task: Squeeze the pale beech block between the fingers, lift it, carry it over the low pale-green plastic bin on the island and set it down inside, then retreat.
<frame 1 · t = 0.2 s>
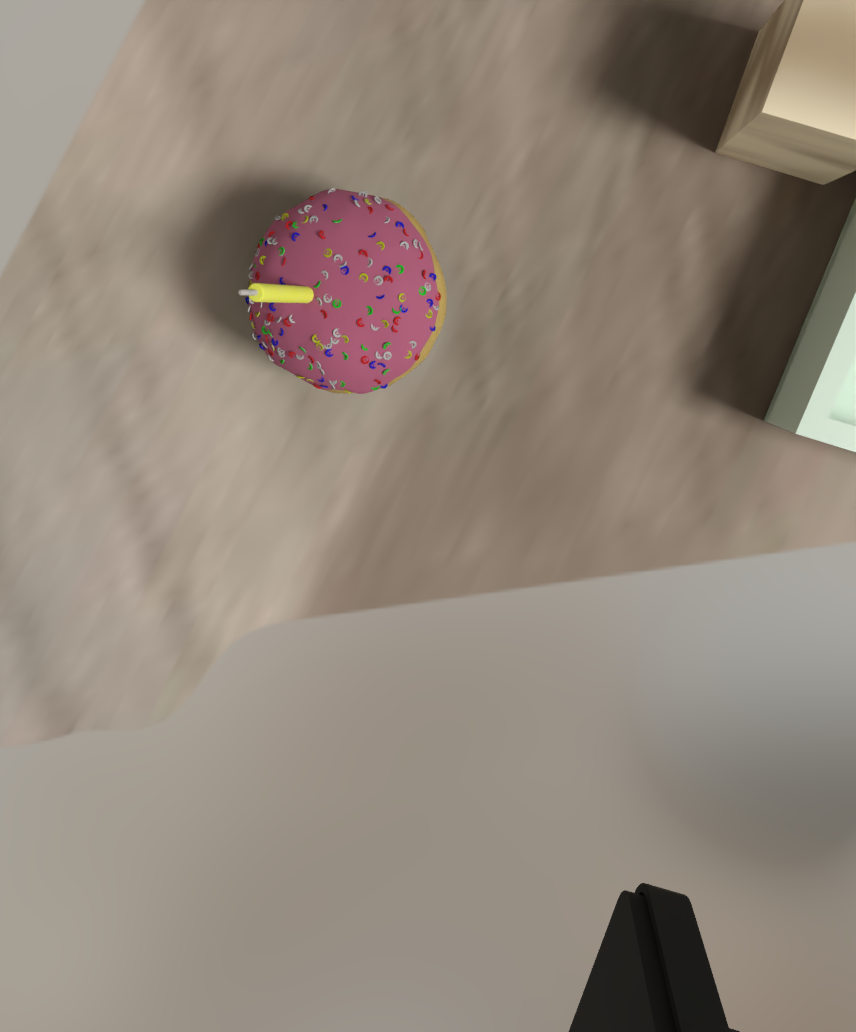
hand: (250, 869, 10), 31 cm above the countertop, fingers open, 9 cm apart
beech block: (791, 109, 34), on the countertop
cupcake: (366, 298, 38), on the countertop
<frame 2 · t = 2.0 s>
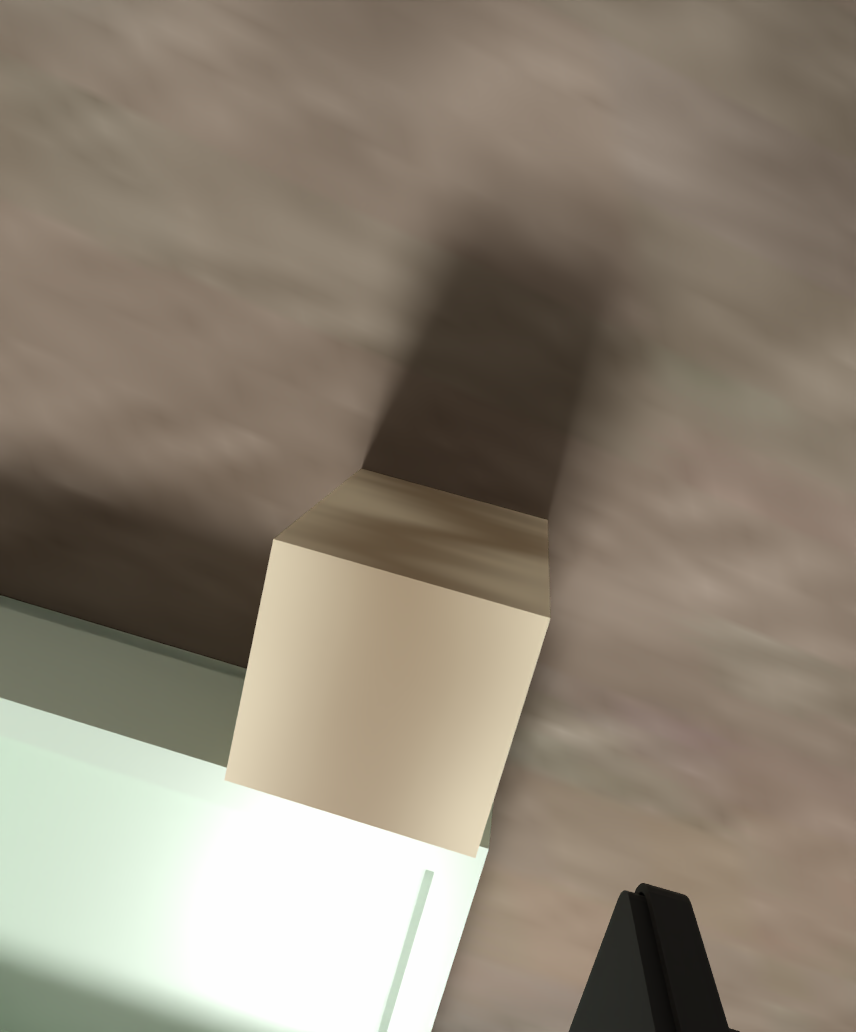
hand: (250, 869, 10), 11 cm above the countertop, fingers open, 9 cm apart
beech block: (430, 581, 21), on the countertop
bin: (182, 890, 24), on the countertop
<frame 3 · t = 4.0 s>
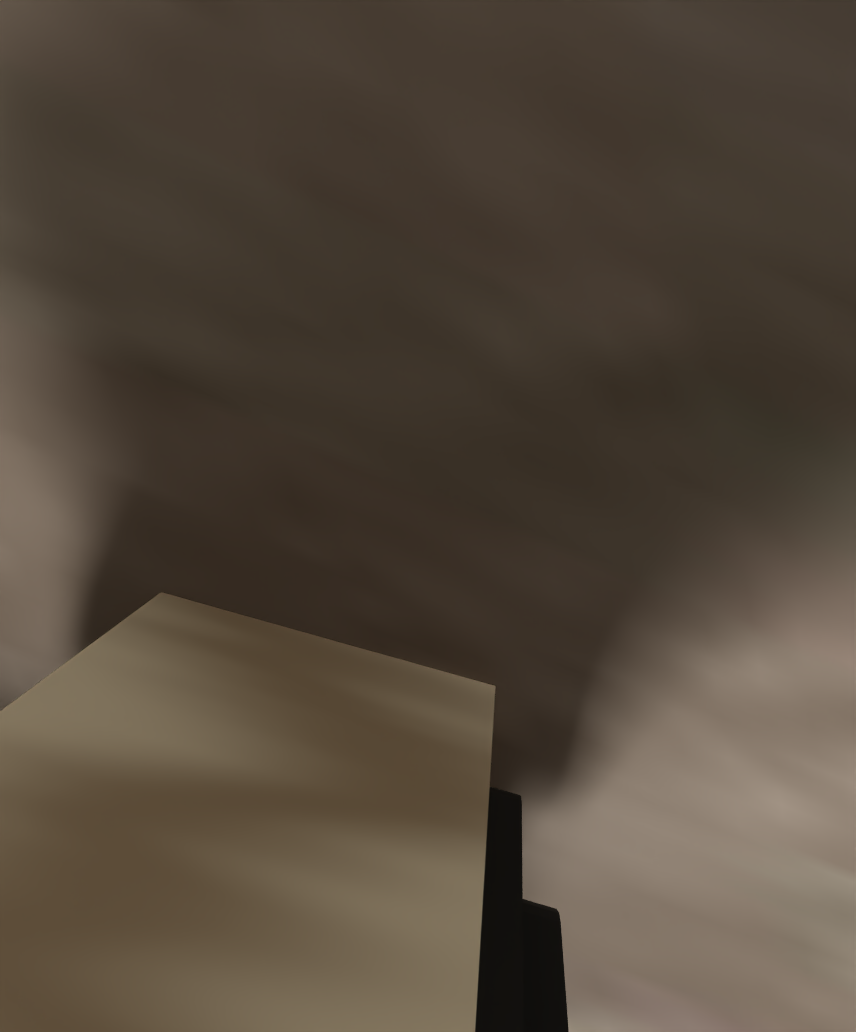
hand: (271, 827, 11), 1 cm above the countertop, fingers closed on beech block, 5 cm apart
beech block: (291, 787, 12), on the countertop, touching gripper
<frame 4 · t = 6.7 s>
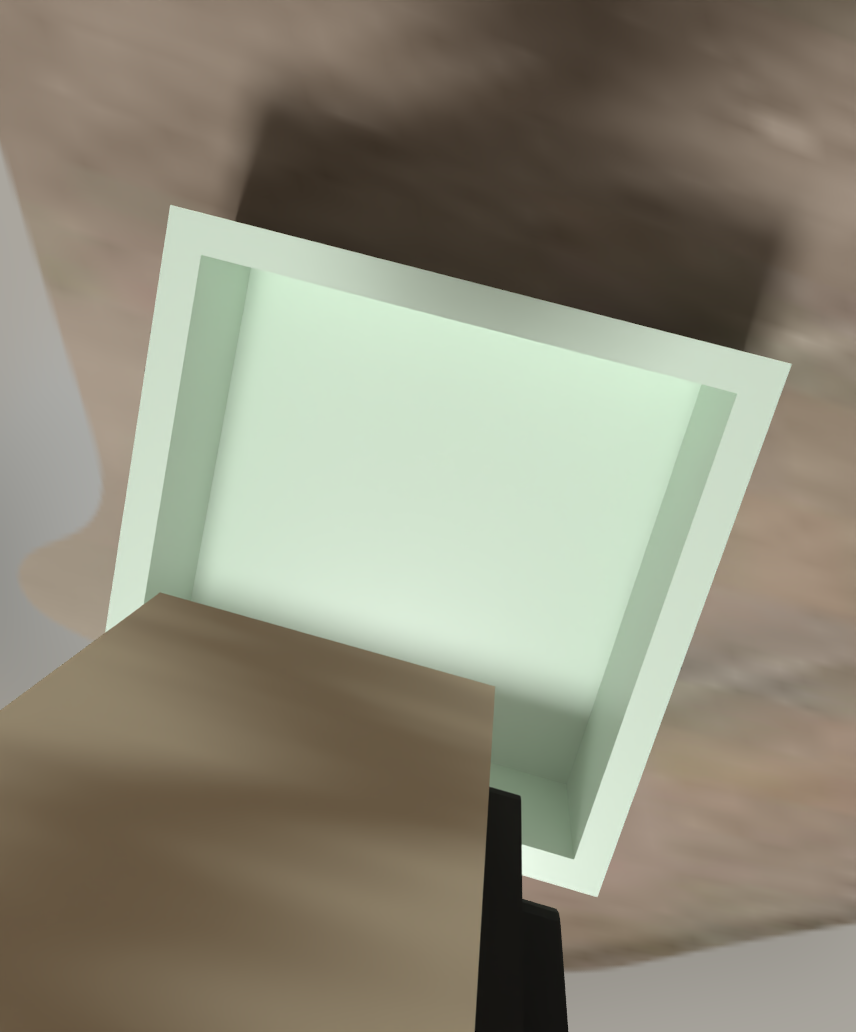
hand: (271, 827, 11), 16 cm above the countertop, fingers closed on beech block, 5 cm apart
beech block: (291, 787, 12), point 15 cm above the countertop, touching gripper
bin: (420, 535, 26), on the countertop
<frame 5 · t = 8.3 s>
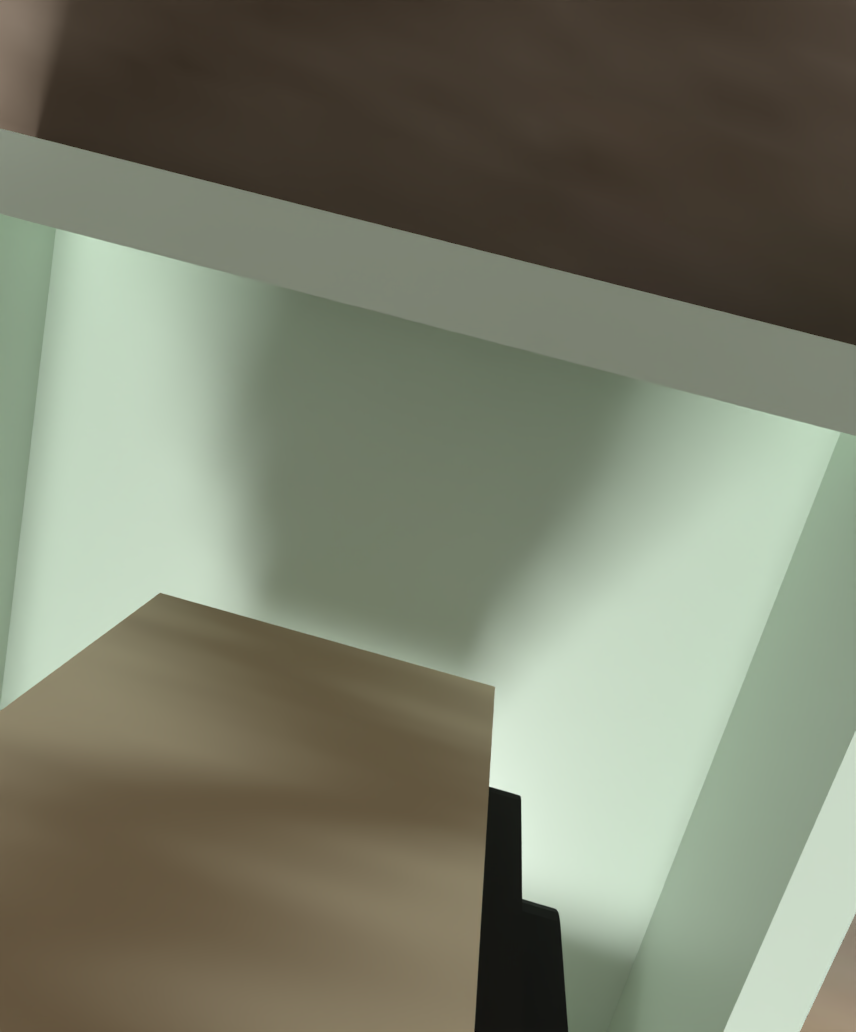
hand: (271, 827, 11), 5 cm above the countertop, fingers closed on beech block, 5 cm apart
beech block: (291, 787, 12), point 4 cm above the countertop, touching gripper
bin: (357, 667, 16), on the countertop
when the fingers open (4 cm above the countertop, at t = 9.4 s): beech block drops 2 cm, resting on bin.
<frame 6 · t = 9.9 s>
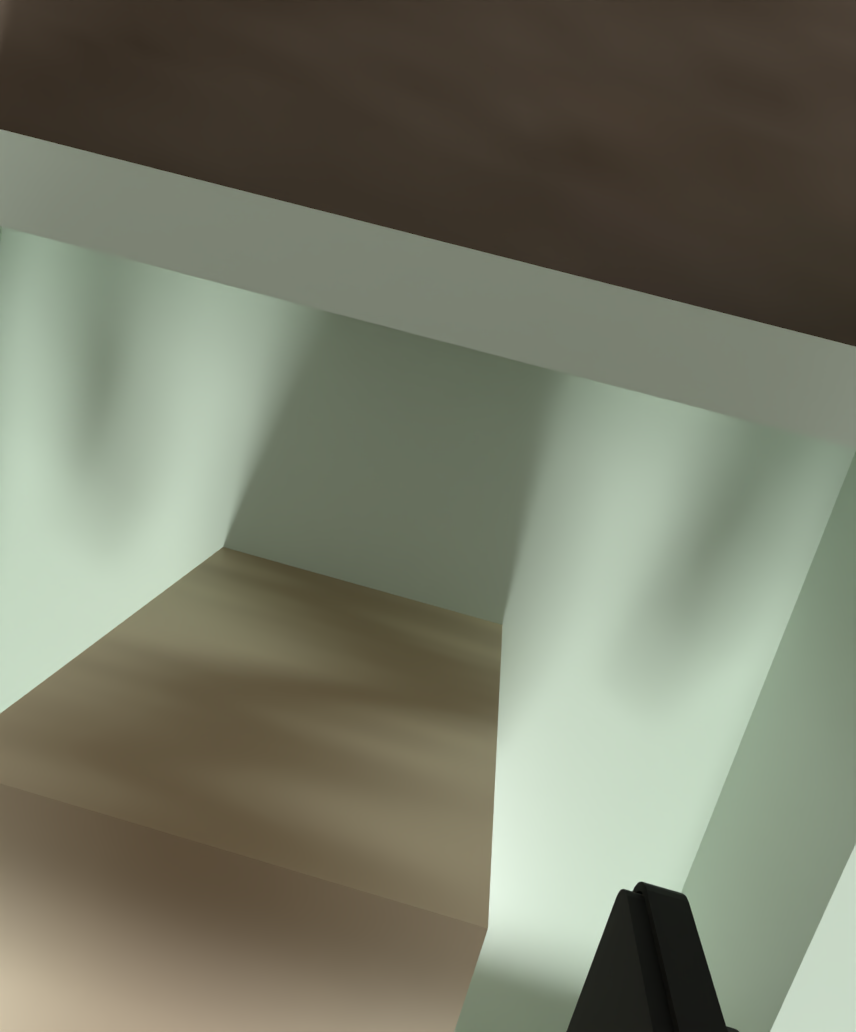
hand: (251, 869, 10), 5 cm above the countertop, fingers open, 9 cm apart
beech block: (330, 712, 14), point 1 cm above the countertop, touching bin
bin: (334, 698, 15), on the countertop
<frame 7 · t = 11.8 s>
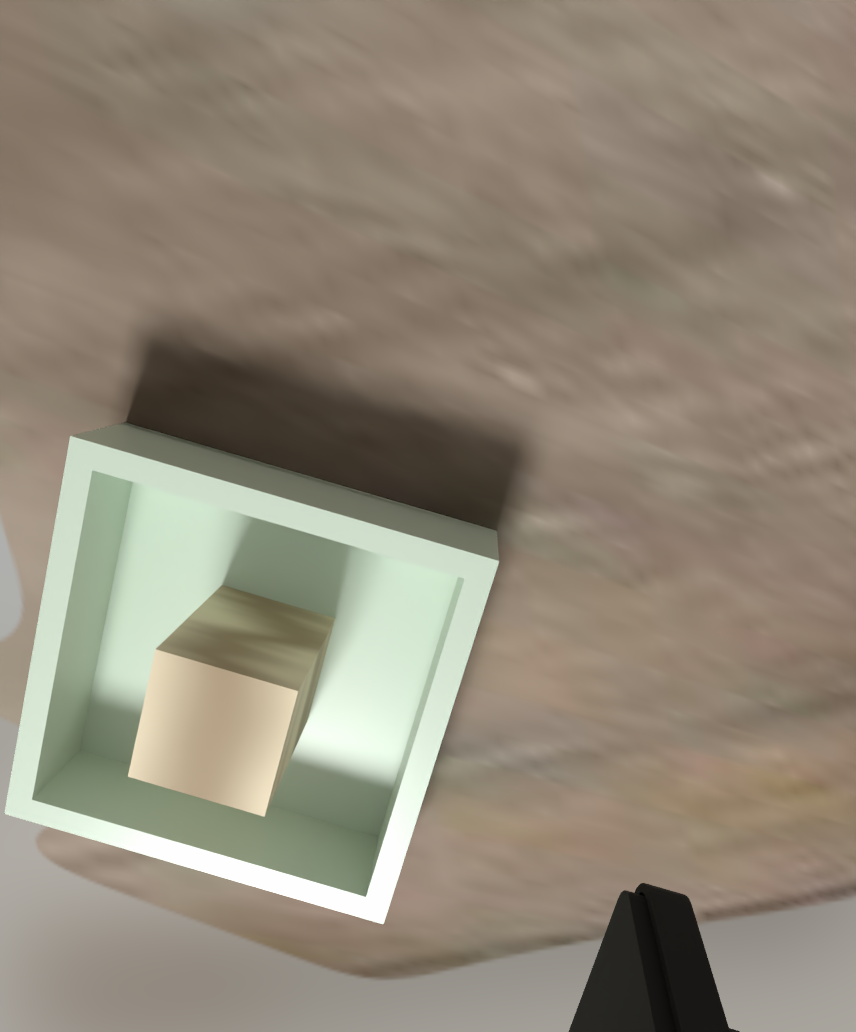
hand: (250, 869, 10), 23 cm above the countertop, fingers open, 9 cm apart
beech block: (265, 654, 34), point 1 cm above the countertop, touching bin
bin: (267, 649, 34), on the countertop
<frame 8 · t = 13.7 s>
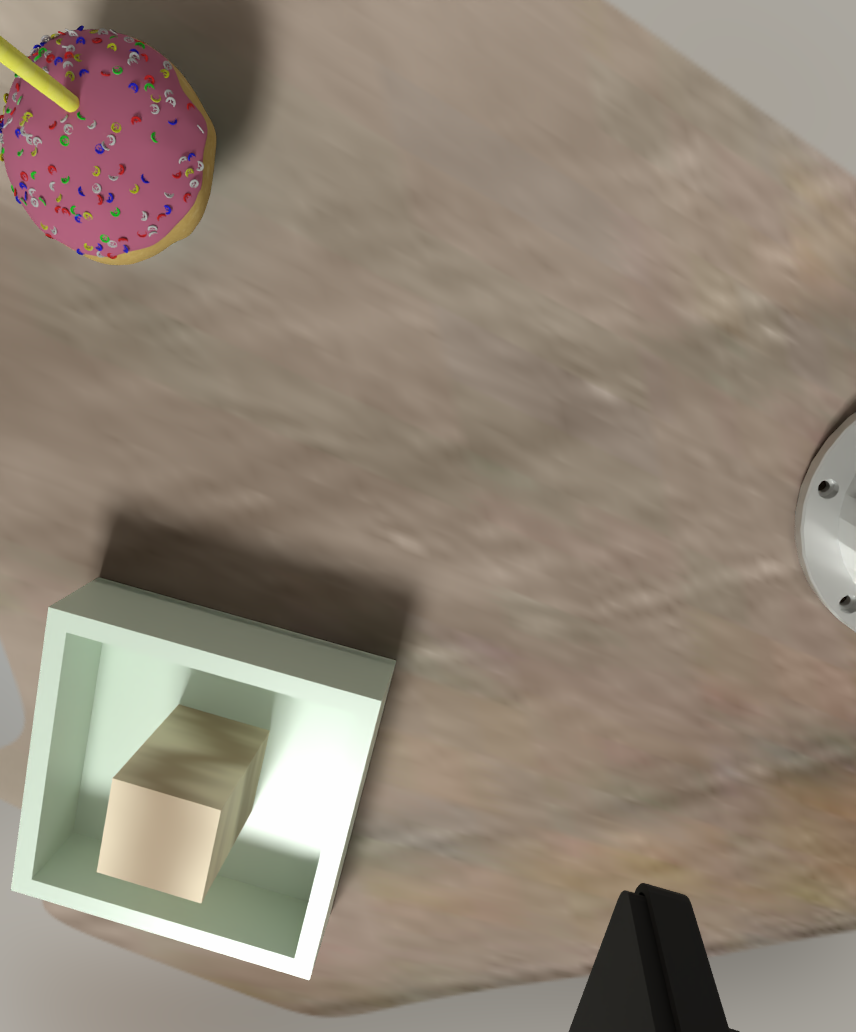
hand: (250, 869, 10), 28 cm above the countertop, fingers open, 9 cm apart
beech block: (215, 758, 42), point 1 cm above the countertop, touching bin
bin: (218, 752, 42), on the countertop
cupcake: (160, 173, 36), on the countertop
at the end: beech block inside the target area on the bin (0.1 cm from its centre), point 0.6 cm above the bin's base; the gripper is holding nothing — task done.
